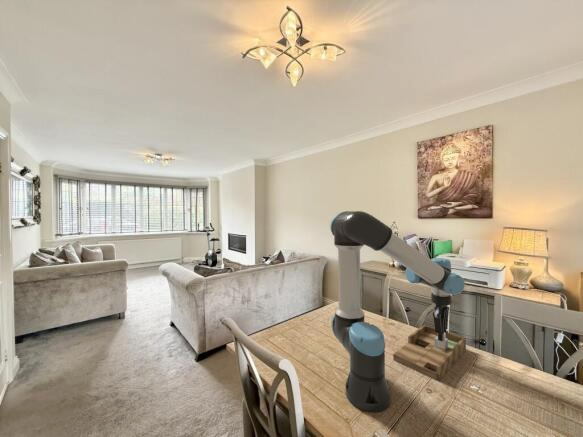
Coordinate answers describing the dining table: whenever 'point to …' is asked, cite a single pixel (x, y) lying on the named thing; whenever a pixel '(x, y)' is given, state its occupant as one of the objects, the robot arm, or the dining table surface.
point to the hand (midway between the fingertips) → (441, 347)
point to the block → (437, 344)
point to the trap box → (430, 352)
